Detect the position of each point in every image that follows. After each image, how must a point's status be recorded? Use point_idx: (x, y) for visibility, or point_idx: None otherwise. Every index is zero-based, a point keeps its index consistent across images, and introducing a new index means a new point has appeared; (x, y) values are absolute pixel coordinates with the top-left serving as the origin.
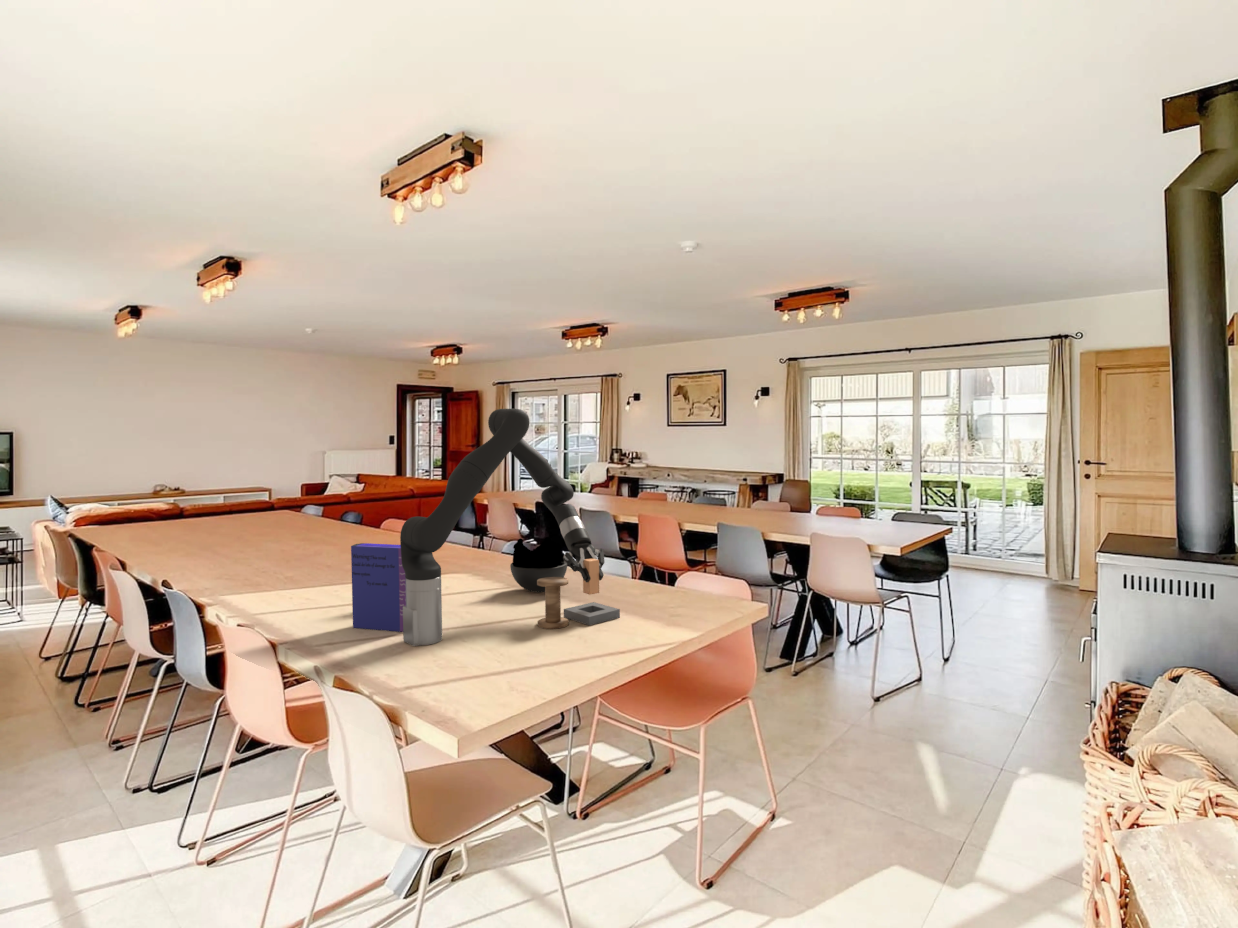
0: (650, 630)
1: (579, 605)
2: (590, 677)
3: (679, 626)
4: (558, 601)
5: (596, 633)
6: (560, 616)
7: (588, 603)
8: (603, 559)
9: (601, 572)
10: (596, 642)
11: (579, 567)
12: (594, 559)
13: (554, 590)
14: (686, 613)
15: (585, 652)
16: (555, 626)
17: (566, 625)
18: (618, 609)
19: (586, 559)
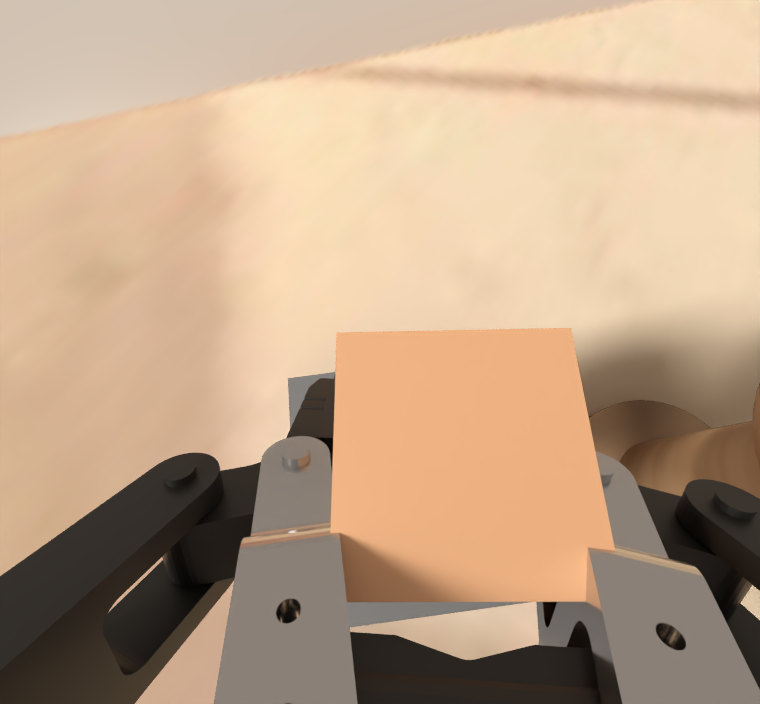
0: (323, 186)
1: (430, 612)
2: (694, 4)
3: (210, 170)
4: (730, 426)
5: (517, 259)
6: (637, 454)
7: (352, 620)
8: (105, 516)
9: (318, 402)
10: (565, 182)
11: (656, 501)
12: (377, 436)
13: None
14: (41, 273)
15: (640, 129)
16: (667, 406)
17: (597, 412)
18: (296, 377)
19: (532, 558)
